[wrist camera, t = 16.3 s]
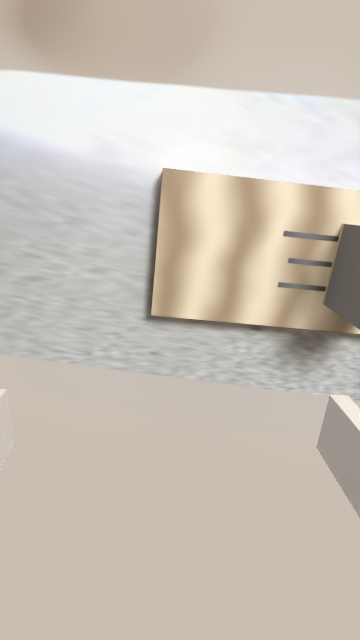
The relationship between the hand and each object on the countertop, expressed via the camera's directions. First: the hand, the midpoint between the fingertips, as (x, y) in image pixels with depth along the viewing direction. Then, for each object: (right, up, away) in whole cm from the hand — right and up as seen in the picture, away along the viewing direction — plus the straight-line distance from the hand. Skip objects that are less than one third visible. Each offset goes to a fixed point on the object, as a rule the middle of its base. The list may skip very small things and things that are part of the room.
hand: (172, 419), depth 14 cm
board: (+12, +11, +21) cm, 27 cm away
